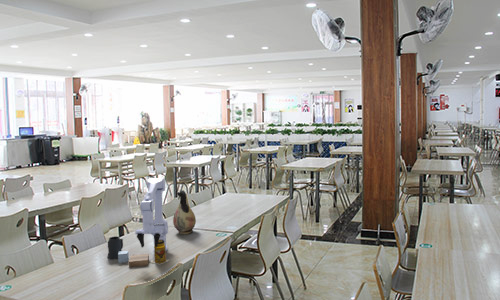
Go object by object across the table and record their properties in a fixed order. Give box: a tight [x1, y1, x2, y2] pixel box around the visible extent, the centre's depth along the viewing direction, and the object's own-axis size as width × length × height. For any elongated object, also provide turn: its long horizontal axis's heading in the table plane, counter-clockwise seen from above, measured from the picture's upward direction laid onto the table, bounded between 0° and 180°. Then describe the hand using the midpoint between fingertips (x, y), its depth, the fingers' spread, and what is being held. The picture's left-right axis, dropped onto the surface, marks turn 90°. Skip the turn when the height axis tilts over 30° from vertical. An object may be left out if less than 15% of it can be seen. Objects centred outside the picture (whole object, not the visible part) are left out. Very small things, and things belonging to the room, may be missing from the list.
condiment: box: [150, 240, 170, 265], centre depth 228 cm, size 7×8×12 cm
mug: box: [106, 236, 124, 260], centre depth 240 cm, size 12×9×11 cm
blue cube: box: [117, 250, 130, 264], centre depth 231 cm, size 5×5×5 cm
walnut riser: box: [128, 253, 150, 268], centre depth 227 cm, size 10×10×3 cm
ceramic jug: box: [172, 189, 197, 235], centre depth 281 cm, size 17×15×30 cm
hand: (149, 246), depth 223 cm, fingers open, 7 cm apart
